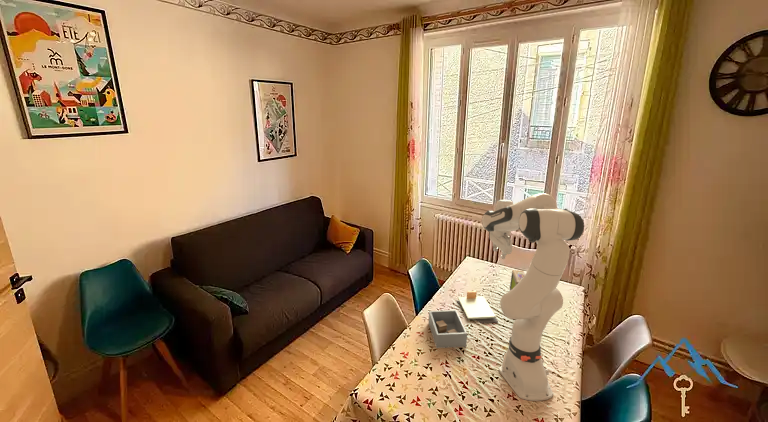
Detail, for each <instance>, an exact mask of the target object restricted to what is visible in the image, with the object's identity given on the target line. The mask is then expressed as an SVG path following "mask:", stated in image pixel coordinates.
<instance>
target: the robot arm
mask: <svg viewBox="0 0 768 422" xmlns="http://www.w3.org/2000/svg"><path fill="white" fill-rule="evenodd" d="M481 224H482V227H483V228H484V230H485V231H487V232H489V240H490V241H491V242H492V246H493V247H492V248H493V249H492V250H493V252H498V251H499V250H500V251H501V255H500V258H501V260H505V259H506V257H507V255H510V254H512V251H513V241H512V238H511V237H510V236H511V233H512V232H513V231H514V232H515V231H520V233H521V234H522V235H523V236H524V237H525V238H526V239H528V241H529V242H530V243H535V242H536V250H535V252H534V253H533V256H532V258H531V261H530V264H529V266H528V268H527V270H526V271H527V272H526V274H525V276H524V277H523V278H522V279H521V281H520V282H519V283H518V284H517V285H516V286H515V287H514V288H513V289H512V290H510V289H509V290H510V291H508V292H506V293H504V294H503V295H501V297H500V302H499V304H500V306H499V307H500V309H501V312H502V314H503V315H504V316H505V317H506V318H507V319H510V320H514V321H513V324H512V328H511V335H510V338H509V340H508V349H507V350H506V352H505V354H504V357H503V360H502V363H501V365H500V366H499V368H498V372H499V374H500V375H501V376H502V378H503V379H504V380H505V381H506V382H507V383H508V385H509V386H510V387H511V389H512V391H514V393H515V394H516V395H517V397H518V398H519V399H522V400H526V401H533V402H534V401H537V402H538V401H546V400H549V399H551V398H553V396H554V392H553V389H552V387H551V385H550V383H549V379H548V376H549V374H550V371H549V369H548V368H545V365H544V359H542V358H543V355H542V347H541V341H542V337H543V334H544V333H543V332H544V330H545V328H546V326H547V325H548V323H549V322H550V320H551V319H552V318H553V316H554V315H555V314H556V313H557V312H558V311H560V309H562V308H563V305H564V297H563V295H562V293H561V292H560V290H559V289H558V288H557V287H558V286H559V283H560V281H561V278H562V276H563V274H564V272H565V270H566V267H567V264H568V261H569V259H570V252H571V249H570V247H569V245H568V243H567V242H566V241H576V240H578V239H580V238H581V237H582V235H583V233H584V231H585V222H584V219H583V218H582V216H581V215H580V214H578V213H576V212H575V211H572V210H569V209H568V208H563V209H560V208H558V205H557V201H556V199H555V198H554V197H553V195H550V194H549V193H543V192H541V193H536V194H533V195H531V196H528V197H526V198H524V199H522V200H520V201H518V202H515V203H514V202H513V200H511V199H499V200H496V204H495V207H494V210H487V211H485V212H484V213H483V214H482V218H481ZM511 231H512V232H511ZM498 249H499V250H498ZM515 319H516V320H515Z"/></svg>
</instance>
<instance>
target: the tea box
mask: <svg viewBox="0 0 768 422" xmlns="http://www.w3.org/2000/svg"><path fill="white" fill-rule="evenodd" d="M526 272H527V270H519V269H518V270H516V269H512V271H511V278H510V285H509V291H510V290H512V289H513V288H514V287H515V286H516V285H517V284H518V283H519V282H520V281H521V279H522V278H523V277H524V276H525V274H526ZM509 291H508V292H509Z"/></svg>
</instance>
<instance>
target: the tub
mask: <svg viewBox="0 0 768 422" xmlns="http://www.w3.org/2000/svg"><path fill="white" fill-rule="evenodd" d="M442 320H443V321H444V322H445V323H446V324H447V331H449V330H452V329H455V330H456V331H457V332H458V333H447V332H444V333H440V334H439V333H438V331H437V328H436V322H438V321H442ZM428 326H429V329H430V332H431V335H432V339H433V342H434V345H435V349H441V348H443V349H444V348H461V347H463V348H464V347H467V341H468V332H467V330H466V327H465V325H464V323H463V321H462V319H461V317H460V314H459V312H458V310H457V309H447V310H429V312H428Z"/></svg>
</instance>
